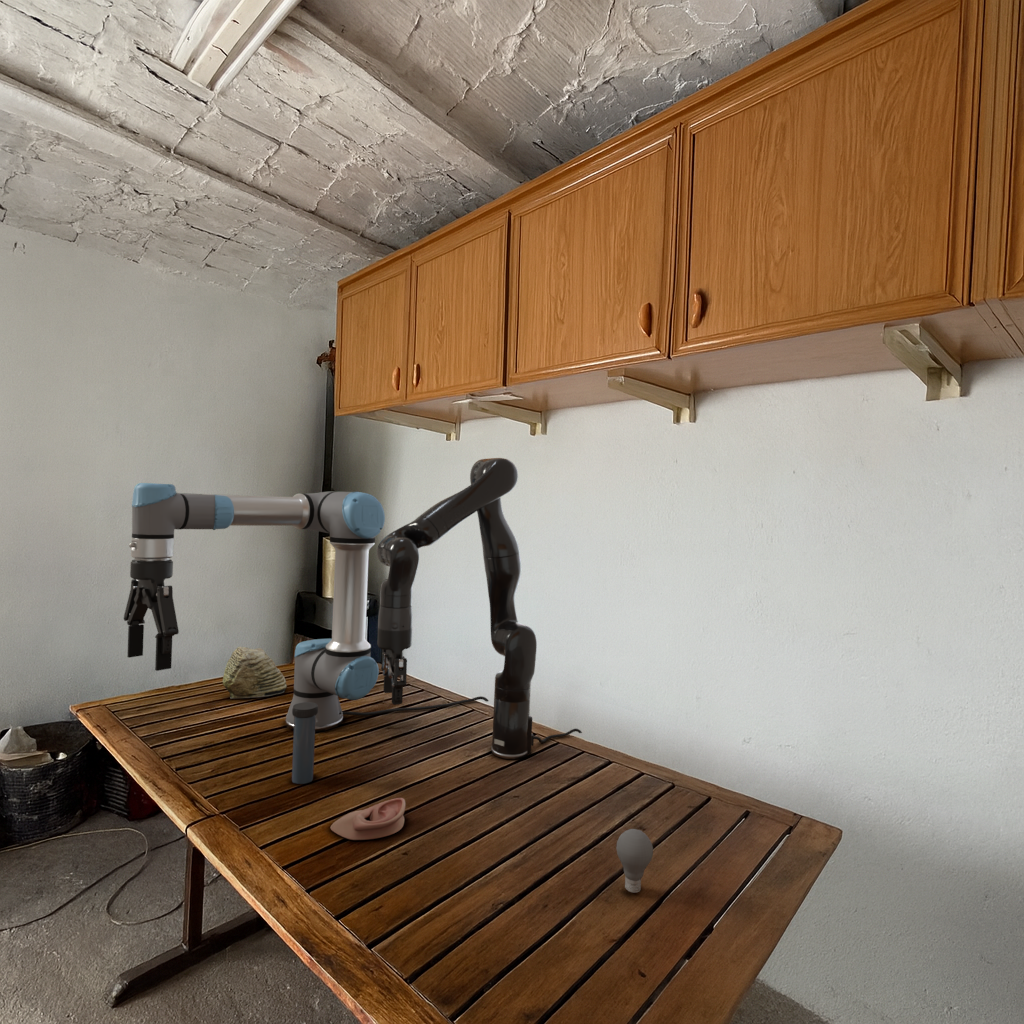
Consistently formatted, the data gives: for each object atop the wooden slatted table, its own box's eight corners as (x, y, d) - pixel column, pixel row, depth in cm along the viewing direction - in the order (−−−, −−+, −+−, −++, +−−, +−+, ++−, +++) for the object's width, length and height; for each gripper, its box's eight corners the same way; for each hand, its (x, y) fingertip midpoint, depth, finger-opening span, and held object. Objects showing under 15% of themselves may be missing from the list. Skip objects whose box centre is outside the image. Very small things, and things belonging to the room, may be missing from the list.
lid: (317, 717, 139) (317, 709, 139) (291, 718, 138) (291, 710, 138) (318, 709, 144) (318, 701, 144) (293, 710, 143) (293, 702, 143)
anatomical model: (323, 814, 118) (350, 787, 130) (322, 835, 118) (350, 806, 130) (389, 824, 116) (412, 796, 127) (389, 846, 116) (411, 816, 127)
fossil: (218, 695, 195) (220, 647, 195) (278, 685, 208) (279, 640, 207) (228, 703, 189) (230, 653, 188) (289, 692, 201) (290, 645, 201)
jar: (312, 783, 140) (315, 710, 140) (290, 784, 139) (293, 711, 138) (313, 774, 144) (316, 704, 144) (292, 775, 143) (295, 704, 143)
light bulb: (610, 879, 108) (613, 822, 108) (644, 879, 109) (647, 822, 109) (619, 902, 102) (622, 840, 102) (655, 901, 103) (658, 840, 103)
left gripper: (108, 554, 134) (104, 654, 134) (159, 565, 118) (155, 678, 119) (146, 552, 140) (143, 648, 140) (199, 563, 124) (195, 671, 124)
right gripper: (419, 631, 136) (417, 706, 136) (404, 619, 149) (401, 687, 149) (385, 633, 133) (382, 710, 133) (372, 620, 146) (369, 690, 146)
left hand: (148, 662), depth 129 cm, fingers open, 13 cm apart
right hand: (392, 698), depth 141 cm, fingers open, 8 cm apart
